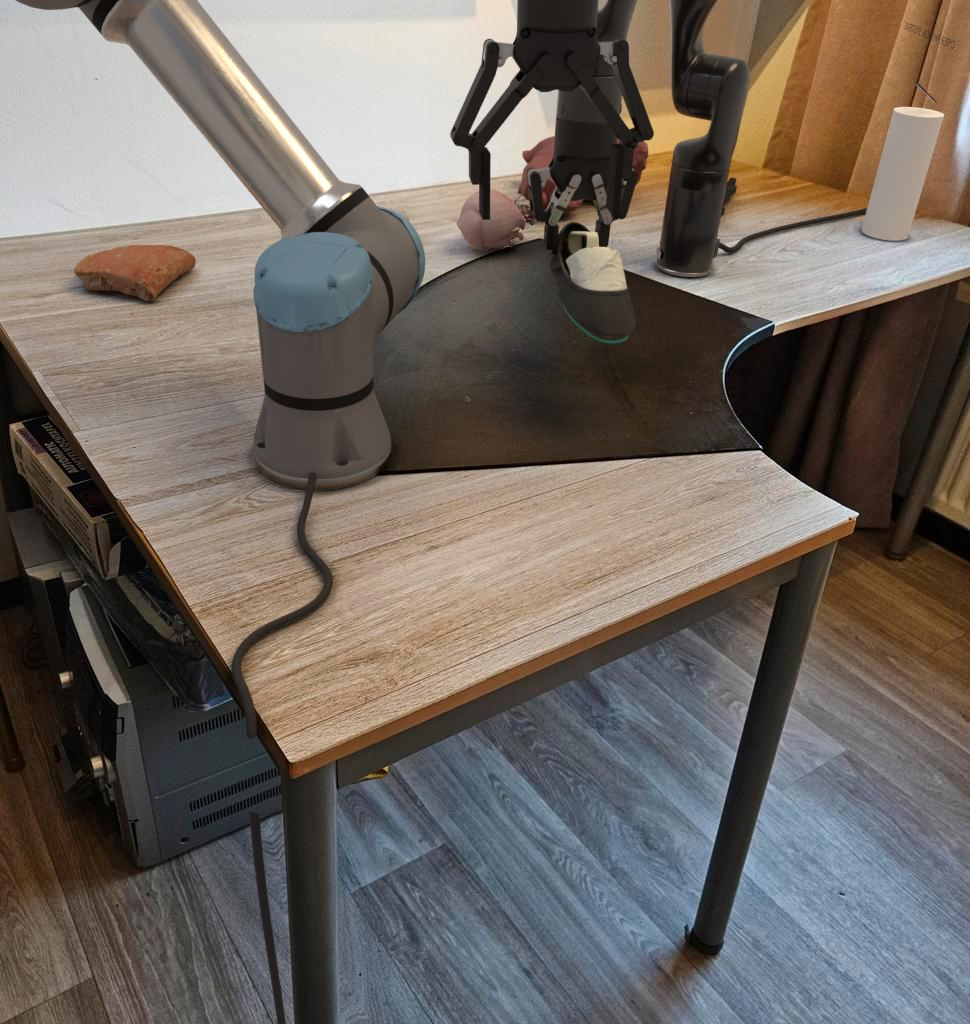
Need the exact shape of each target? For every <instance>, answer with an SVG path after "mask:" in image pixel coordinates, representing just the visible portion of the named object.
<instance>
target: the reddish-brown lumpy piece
mask: <svg viewBox="0 0 970 1024" xmlns="http://www.w3.org/2000/svg"><path fill="white" fill-rule="evenodd" d="M554 138H555V135H554V136H549V137H546V138H544V139H542V140H540V141H539V142H538V143H536V145H535V146H534V147H532V148H531V149H529V150H523V151H522V153H521V156H522V158H523V160H524V162H525V163H526V164H525V166H524V168H523V170H522V172H521V173H522V174H521V180H520V181H521V182H520V185H519V186H518V189H517V194H518V195H520V196H524V198H526V199H527V200H529V193H528V184H527V175H526V171H527V169H528V168H531V167H532V168H534V169H540V168H545V167H548V166H549V164H550V162H551V161H552V158H553V151H554ZM617 143H618V144H619V139H618V138H617ZM648 157H649V146H648V143H647V142H646V140H645V141H642V142H640V143H638V145H637V147H636V148H635V149H634V154H633V165H632V169H634V170H635V171H636V172H637V173H638V179H637V182H636V185H635V187H636V186H637V185H638V184H639V183H640V181H641V178H642V174H643V171H645V170H646V169H647V164H648V161H647V160H648ZM555 188H556V185H555V183H554V181H553V180H552V178H551V176H550V177H548V178H547V180H546V185H545V186H544V187H543V188H542V197H543V206H544V209H545V210H546V209H547V207H548V205H549V203H550V200H551V196H552V194H553V192H554V190H555ZM605 193H606V196H607V187H606V189H605ZM582 203H584V199H581V200H578V201H570V202H569V204H568V206H567V208H566V210H564V211H563V213H564V214H569V213H573V212H575V211H578V209H579V208H581V206H582Z"/></svg>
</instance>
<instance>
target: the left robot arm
mask: <svg viewBox="0 0 970 1024" xmlns="http://www.w3.org/2000/svg"><path fill="white" fill-rule="evenodd" d="M15 2H18V3H19V4H22V5H25V6H26V7H29V8H33V9H37V10H44V11H58V10H59V11H60V10H61V11H62V10H67V9H74V8H75V9H76V8H78V9H79V10H80V11H81V12H82V14H83V15H84V16H85V17H86V18H87V19H88V21H89V22H90V23H91V25H92V26H93V27H94V28H95V29H96V30H97V32H98V33H99V34H100V35H101V36H102V37H103V38H104V40H105V41H106V42H109V43H115V44H116V43H117V44H123V45H127V46H129V48H130V49H131V50H132V51H133V52H134V53H135V55H136V56H137V57H138V59H139V60H140V61H141V62H142V63H143V64H144V66H145V68H147V69H148V71H149V72H150V73H151V75H152V76H153V77H154V78H155V79H156V81H158V83H159V84H160V85H161V86H162V88H163V89H164V90H165V91H166V92H167V94H168V95H169V96H170V97H171V98H172V100H173V101H174V102H175V103H176V104H177V106H178V107H179V108H180V110H181V111H182V112H183V113H184V114H185V116H186V117H187V118H188V119H189V120H190V122H191V123H192V124H193V125H194V126H195V127H196V129H197V130H198V131H199V133H200V134H201V135H202V136H203V138H204V139H205V140H206V141H207V143H209V145H210V146H211V147H212V148H213V149H214V151H215V152H216V153H217V154H218V156H219V157H220V158H221V159H222V161H223V162H224V163H225V164H226V166H227V167H228V168H229V169H230V170H231V171H232V173H233V174H234V175H235V176H236V178H237V179H238V180H239V181H240V182H241V184H242V186H244V187H245V189H247V191H248V192H249V194H250V195H251V196H252V197H253V198H254V199H255V201H256V202H257V203H258V204H259V205H260V207H261V208H262V209H263V210H264V212H265V213H266V214H267V215H268V216H269V217H270V219H271V220H272V221H273V222H274V223H275V225H276V226H277V227H278V229H279V230H280V233H281V239H280V240H278V241H275V242H274V243H272V244H271V245H269V246H268V247H267V248H265V249H264V250H263V251H262V253H261V254H260V255H259V256H258V258H257V260H256V263H255V267H254V287H253V303H254V307H255V310H256V311H255V312H256V320H257V331H258V340H259V349H260V359H261V369H262V378H263V388H264V390H263V391H264V396H263V400H262V404H261V408H260V412H259V415H258V419H257V423H256V427H255V430H254V434H253V439H252V441H253V442H252V455H253V460H254V464H255V467H256V468H257V470H258V471H259V472H260V473H261V474H262V475H263V476H265V477H266V478H268V479H269V480H271V481H273V482H275V483H278V484H280V485H283V486H286V487H290V488H295V489H301V490H305V493H304V497H303V502H302V507H301V510H300V513H299V517H298V520H297V524H296V525H297V526H296V535H297V540H298V543H299V545H300V547H301V549H302V551H303V552H304V553H305V555H306V556H307V557H308V559H309V560H311V561H312V562H313V563H314V565H315V566H316V567H317V568H318V569H319V570H320V572H321V573H322V576H323V579H324V580H323V582H324V583H323V587H322V589H321V591H320V592H319V594H318V595H317V596H316V597H315V598H314V599H313V600H311V601H310V602H309V603H307V604H306V605H304V606H301V607H300V608H298V609H296V610H293V611H291V612H289V613H287V614H285V615H283V616H280V617H278V618H276V619H274V620H272V621H269V622H268V623H266V624H264V625H262V626H260V627H259V628H256V629H255V630H254V631H252V632H251V633H249V635H247V636H246V637H245V638H244V639H243V640H242V641H241V643H240V644H239V645H238V647H237V648H236V650H235V652H234V654H233V658H232V661H231V667H230V668H231V670H230V671H231V675H232V680H233V682H234V685H235V687H236V689H237V691H238V693H239V696H240V699H241V702H242V705H243V710H244V717H245V731H246V737H247V738H248V739H251V740H252V739H255V738H256V737H257V735H258V727H257V715H256V709H255V708H256V707H255V704H254V700H253V697H252V694H251V691H250V689H249V686H248V684H247V682H246V680H245V678H244V675H243V671H242V663H243V659H244V658H245V655H246V654H247V652H248V651H249V649H250V648H251V647H252V646H253V645H254V644H255V643H256V642H257V641H258V640H259V639H261V638H263V637H264V636H266V635H267V634H269V633H271V632H273V631H275V630H277V629H278V628H281V627H284V626H286V625H287V624H290V623H292V622H294V621H297V620H299V619H301V618H302V617H304V616H306V615H308V614H310V613H311V612H314V611H315V610H316V609H318V608H320V606H321V605H322V604H323V603H324V602H325V601H326V600H327V599H328V597H329V596H330V594H331V592H332V588H333V584H334V578H333V574H332V571H331V570H330V568H329V567H328V565H327V564H326V562H325V561H324V560H323V559H322V558H321V556H320V555H319V554H317V553H316V551H314V549H313V548H312V546H311V545H310V544H309V541H308V539H307V535H306V523H307V518H308V516H309V512H310V508H311V505H312V500H313V496H314V490H315V491H323V490H327V491H328V490H337V489H342V488H348V487H351V486H355V485H358V484H361V483H363V482H366V481H368V480H370V479H373V478H374V477H375V476H377V475H378V474H380V473H381V472H382V471H383V470H384V469H385V468H386V467H387V466H388V464H389V463H390V461H391V458H392V438H391V432H390V430H389V427H388V424H387V422H386V419H385V417H384V413H383V411H382V408H381V406H380V403H379V400H378V398H377V395H376V393H375V385H374V342H375V339H376V338H377V337H378V336H379V334H380V333H382V332H383V331H384V330H385V329H386V327H387V326H388V325H389V324H390V323H391V322H392V321H393V320H394V319H395V318H396V316H397V315H399V314H400V313H401V312H403V310H405V309H406V308H407V307H409V305H410V304H411V303H412V301H413V299H414V298H415V296H416V294H417V292H418V290H419V289H420V287H421V285H422V282H423V280H424V276H425V273H426V272H425V271H426V253H425V249H424V245H423V242H422V240H421V237H420V235H419V233H418V232H417V229H416V228H415V227H414V226H413V224H412V223H411V222H410V220H409V221H408V220H407V219H406V218H405V217H403V216H402V215H401V214H399V213H398V212H396V211H394V210H395V209H391V208H386V207H383V206H379V205H377V204H376V203H375V201H374V200H373V199H372V198H371V196H370V195H369V194H368V192H367V191H366V190H365V188H364V187H363V186H362V185H360V184H357V183H352V182H351V183H350V182H344V181H343V180H340V179H339V178H338V176H337V175H336V174H335V173H334V171H332V169H331V168H330V166H329V165H328V164H327V163H326V162H325V159H323V157H322V156H321V155H320V154H319V152H318V151H317V150H316V148H315V147H314V146H313V145H312V144H311V143H310V141H309V139H308V138H307V137H306V136H305V135H304V134H303V132H302V131H301V129H300V128H299V127H298V126H297V125H296V123H295V122H294V121H293V119H292V118H291V117H290V115H288V113H287V112H286V110H284V108H283V107H282V105H281V104H280V103H279V102H278V100H277V99H276V98H275V97H274V96H273V94H272V93H271V92H270V90H269V89H268V88H267V87H266V85H265V84H264V83H263V81H262V80H261V79H260V77H259V76H258V75H257V74H256V73H255V71H254V70H253V69H252V68H251V66H250V65H249V64H248V63H247V61H246V60H245V59H244V57H243V55H241V54H240V52H239V51H238V50H237V49H236V47H235V46H234V45H233V43H232V42H231V41H230V40H229V39H228V37H227V36H226V35H225V33H224V32H223V31H222V30H221V28H220V27H219V26H218V25H217V23H216V22H215V21H214V20H213V18H212V17H211V16H210V14H209V13H208V12H207V11H206V9H205V8H204V7H203V5H202V4H201V3H200V2H199V1H198V0H15ZM516 3H517V5H516V35H515V37H514V41H513V42H512V43H509V42H501V41H495V40H494V39H493V38H486V39H485V40H484V42H483V44H482V53H481V61H480V66H479V68H478V70H477V72H476V74H475V77H474V79H473V81H472V84H471V86H470V88H469V90H468V93H467V94H466V96H465V99H464V100H463V103H462V106H461V108H460V110H459V112H458V115H457V116H456V119H455V121H454V124H453V125H452V128H451V130H450V132H449V135H450V136H449V137H450V139H451V141H452V143H453V144H454V146H456V147H461V148H463V149H466V150H467V151H468V179H469V180H470V183H471V184H472V186H478V191H479V213H480V215H481V217H482V219H483V220H490V190H491V164H492V163H491V162H492V161H491V159H492V158H491V157H492V156H491V154H492V153H491V152H490V150H489V148H488V147H487V145H488V143H490V141H491V139H492V138H493V137H494V136H495V134H496V133H497V132H498V131H499V130H500V128H501V127H502V125H504V123H505V122H506V121H507V119H508V118H509V117H510V116H511V114H512V113H513V112H514V111H515V109H516V108H517V107H518V105H519V104H520V103H521V101H522V100H523V99H524V98H526V97H527V96H528V95H529V94H530V92H531V91H532V90H533V89H535V90H536V91H538V92H539V93H549V92H553V91H558V90H560V91H564V92H571V91H572V90H573V89H575V88H577V87H578V86H580V88H581V89H582V90H583V91H584V93H585V94H586V95H587V97H588V98H589V99H590V101H591V102H592V104H593V105H594V106H595V108H596V109H597V111H598V112H599V113H600V115H601V116H602V117H603V119H604V120H605V122H606V123H607V124H608V126H609V127H610V128H611V130H612V131H613V133H614V134H615V135H616V137H617V138H618V139H619V144H618V143H611V144H610V158H609V171H608V185H607V199H606V208H607V209H608V210H609V211H610V213H611V214H612V215H617V214H619V213H620V201H621V189H622V179H630V177H631V175H632V165H633V154H634V149H635V148H636V147H637V145H638V143H640V142H642V141H645V142H646V141H650V140H652V139H653V138H654V134H655V132H654V129H653V125H652V123H651V120H650V118H649V115H648V112H647V109H646V107H645V104H644V102H643V99H642V96H641V93H640V90H639V88H638V85H637V82H636V79H635V76H634V74H633V71H632V69H631V66H630V44H629V42H628V41H627V39H626V40H624V39H622V38H620V37H617V36H616V37H613V38H612V39H611V40H609V41H602V42H598V39H597V35H596V30H597V15H598V10H599V0H517V1H516ZM599 55H603V56H604V59H605V61H606V62H607V63H608V64H610V65H612V69H613V72H614V75H615V78H616V80H617V83H618V86H619V88H620V91H621V93H622V100H623V101H624V104H625V106H626V109H627V112H628V115H629V117H630V120H631V122H632V125H633V127H632V128H629V127H628V125H627V124H626V123H625V121H624V120H623V119H622V117H621V115H620V116H619V114H618V113H617V111H616V110H615V109H614V107H613V106H612V104H611V103H610V102H609V100H608V99H607V97H606V96H605V95H604V93H603V92H602V90H601V89H600V87H599V85H598V84H597V83H596V81H595V80H594V78H593V77H592V76H591V74H590V73H589V71H590V69H591V68H592V66H593V65H594V63H595V62H596V61H597V59H598V58H599ZM510 57H512V60H513V61H514V63H515V64H516V65H517V68H519V70H518V72H516V74H515V75H514V76H513V78H512V79H511V81H510V83H509V85H508V86H507V88H506V89H505V90H504V92H502V94H501V95H500V97H498V99H497V100H496V102H495V103H494V104H493V106H491V108H490V110H489V111H488V112H487V113H486V115H484V117H483V118H482V119H481V121H479V122H480V123H479V124H478V125H477V126H476V127H475V128H474V130H473V131H472V132H471V130H472V127H473V125H474V123H475V121H476V119H477V116H478V114H479V112H480V110H481V108H482V106H483V104H484V101H485V99H486V97H487V95H488V93H489V91H490V88H491V87H492V84H493V82H494V79H495V77H496V74H497V71H498V68H502V67H504V65H505V64H506V61H507V60H508V59H509V58H510ZM248 813H249V814H248V816H249V827H250V838H251V847H252V857H253V867H254V873H255V881H256V882H255V883H256V889H257V897H258V903H259V912H260V918H261V925H262V931H263V939H264V945H265V951H266V958H267V964H268V970H269V978H270V983H271V987H272V988H271V990H272V997H273V1002H274V1009H275V1015H276V1023H277V1024H287V1022H286V1016H285V1015H286V1014H285V1006H284V1000H283V993H282V987H281V979H280V971H279V965H278V958H277V952H276V946H275V939H274V932H273V923H272V917H271V916H272V915H271V909H270V904H269V903H270V902H269V894H268V887H267V880H266V877H267V876H266V869H265V861H264V850H263V840H262V830H261V828H262V827H261V818H260V814H259V813H256V812H254V811H250V810H249V811H248Z"/></svg>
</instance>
